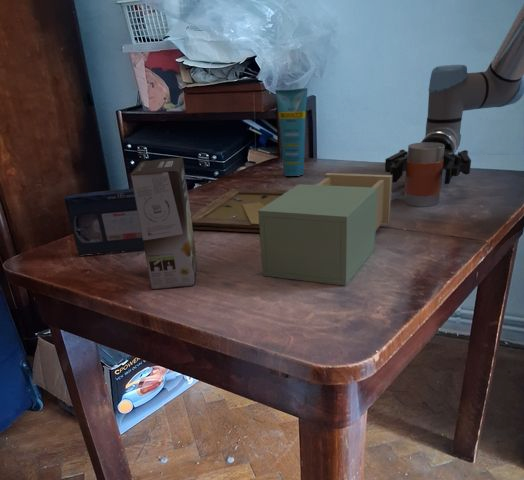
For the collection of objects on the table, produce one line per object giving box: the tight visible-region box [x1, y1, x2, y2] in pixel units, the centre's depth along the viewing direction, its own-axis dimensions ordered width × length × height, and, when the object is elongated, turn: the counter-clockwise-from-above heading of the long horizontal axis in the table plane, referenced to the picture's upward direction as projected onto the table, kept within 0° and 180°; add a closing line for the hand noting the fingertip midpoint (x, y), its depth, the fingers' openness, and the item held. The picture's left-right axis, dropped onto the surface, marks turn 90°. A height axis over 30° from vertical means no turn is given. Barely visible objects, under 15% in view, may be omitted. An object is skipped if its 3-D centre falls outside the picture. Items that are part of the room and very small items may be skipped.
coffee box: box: [130, 157, 198, 290], centre depth 76 cm, size 9×6×16 cm
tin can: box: [403, 141, 445, 208], centre depth 102 cm, size 7×7×10 cm
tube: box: [274, 87, 308, 177], centre depth 126 cm, size 7×5×19 cm, turn 81°
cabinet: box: [258, 183, 377, 287], centre depth 78 cm, size 15×13×10 cm
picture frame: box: [191, 188, 290, 233], centre depth 105 cm, size 19×2×24 cm
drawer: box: [316, 172, 393, 231], centre depth 89 cm, size 18×11×8 cm, turn 155°
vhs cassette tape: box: [63, 187, 145, 256], centre depth 89 cm, size 18×3×10 cm, turn 95°
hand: (420, 175), depth 98 cm, fingers open, 9 cm apart
